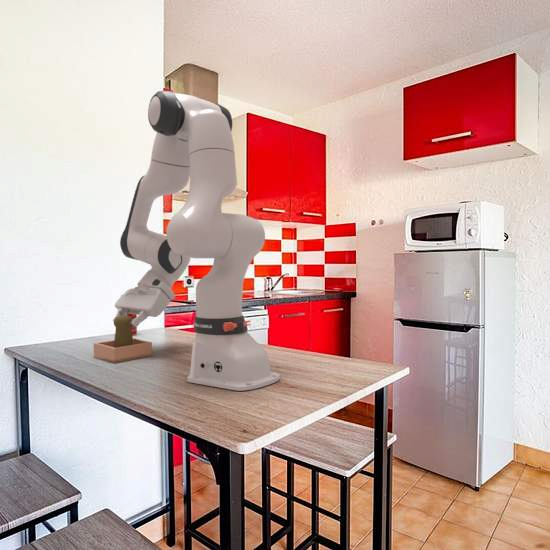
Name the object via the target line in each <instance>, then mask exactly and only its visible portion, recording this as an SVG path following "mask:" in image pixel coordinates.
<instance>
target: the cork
mask: <svg viewBox="0 0 550 550" xmlns="http://www.w3.org/2000/svg"><path fill="white" fill-rule="evenodd" d="M115 317H116V316H115ZM115 317H114V318H115ZM114 318H113V319H114ZM132 320H133V319H132V317H130V316H126V315H123V316H118V317H116V318H115V319H114V322H113V325H114V327H115V331H114V332H115V334H114V339H113V340H114V348H118V347H123V346H129V345H134V344H133V338H134V336H132V331H131V326H132V325H131V324H130V322H131V321H132Z"/></svg>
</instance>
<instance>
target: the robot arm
mask: <svg viewBox="0 0 550 550" xmlns="http://www.w3.org/2000/svg"><path fill="white" fill-rule="evenodd" d="M148 104H149V105H148V109H147V118H148V119H147V120H148V122H149V125H150V127H151V129H153V131H154V132H156V134H155V138H154V141H153V146H152V148H151V149H152V150H151V157H150V158H151V159H150V163H149V167H148V170H147V171H146V173H145V175H143V176H141V177H140V178H139V180H138V183H137V184H136V188H135V191H134V194H133V198H132V202H131V205H130V209H129V212H128V213H129V214H128V218H127V221H126V225H125V227H124V230H123V232H122V234H121V236H120V240H119V245H120V249H121V252H122V254H123V255H124V256H125V257H126V258H129V259H133V260H136V261H140V262H143V263H145V264H147V265H150V266H151V268H150V269H149V270H147V271H146V272H145V274H144V275H143V276H142V277H141V278H140V280H139V281H138V282H137V286H136V287H133V288H129V289H127V290H126V291H125V292H124V293H122V294H121V295H122V296H121V295H120V296H119V298H118V299H117V300H116V302H115V303H114V307H115V308H116V309H117V312H116V314H115V316H114V317H113V319H112V321H113V323H114V319H115V318H116V317H118V316H123V315H125V314H126V313H129V314H136V315H137V317H136V318H133V320H132V321H131V322H130V324H131V325H132V326H134V327H137V328H138V326H139V325H140V323H142V322H144V321H146V320H147V319H148V317H152V318H158V316H160V315H161V314H162V313H163V312H164V311H165V309H166V308H167V307H168V306H169V305H170V302H171V301H173V300H174V299H175V297H176V294H175V293H174V291H173V290H172V288H173V285H174V283H175V282H177V281H178V280H179V279H180V278H181V276H182V275H183V274H184V272H185V271H186V269H187V267H188V266H189V264H190V261H191V259H213V264H212V267H211V269H210V270H209V272H208V273H207V274H206V275H204V276H203V277H202V278H200V279H199V280H198V282H197V283H196V286H195V316H194V319H193V321H194V322H193V329H194V330H193V331H194V333H195V337H194V341H193V343H192V348H191V360H190V361H191V362H190V372H189V375H188V376H187V377H186V378H187V379H186V381H187V382H188V383H192V384H197V385H203V386H209V387H212V388H213V387H214V388H220V389H225V390H231V391H236V392H237V391H239V392H240V391H242V392H243V391H250V390H255V389H259V388H263V387H266V386H269V385H272V384H274V383H277V382H278V381H279V380H280V379H281V374H280V373H278V372H276V371H272V370H271V365H270V357H269V354H268V352H267V351H266V349H264V348H263V347H262V346H261V345H260V344H259V343H258V342H257V341H256V340H255V339H254V337H252V335H251V334H250V333H249V332H248V330H249V329H248V326H251V325H252V324H251V320H245V316H244V315H243V292H244V291H243V289H244V288H243V287H244V280H245V276H246V274H247V272H248V268H249V266H250V265H251V262H252V261H253V259H254V258H255V257H256V256H257V255H258V254H259V253H260V252H261V251H262V249H263V247H264V246H265V242H266V241H265V239H266V231H265V229H264V226H263V224H262V222H261V221H259V220H258V219H257V218H253V217H251V216H249V215H245V214H240V213H230V212H229V213H228V212H223V211H222V204H223V200H224V199H225V198H227V197H228V196H230V195H231V194H232V193H233V192H235V189H236V187H237V185H238V180H237V167H236V164H237V163H236V156H235V145H234V140H233V134H232V131H233V118H232V114H231V112H230V110H229V109H228V108H226V107H225V106H223V105H221V104H219V103H213V102H212V101H208V100H206V99H204V98H203V99H202V98H200V97H197V96H195V95H190V94H184V93H180V92H179V93H177V92H174V91H172V90H159V91H157V92H156V93H154V94H153V95H152V97H151V98H150V101H149V103H148ZM188 184H189V191H188V195H187V198H186V201H185V203H184V205H183V206H182V207H181V208H180V210H178V212H176V213H175V214H174V215H173V216H172V217H171V219H170V220H169V221H168V224H167V227H166V234H162V233H158V232H155V231H152V230H149V228H148V225H147V224H148V220H149V217H150V212H151V210H152V206H153V203H154V201H156V199H157V198H159V197H162V196H169V195H174V194H176V193H180V192H181V191H182V190H184V188H186V186H187V185H188Z"/></svg>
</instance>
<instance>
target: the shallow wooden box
mask: <svg viewBox="0 0 550 550" xmlns="http://www.w3.org/2000/svg"><path fill="white" fill-rule="evenodd" d="M114 340H115V339H113V340H108V341H107V340H106V341H101V342H94V343H93V358H94V359H98V360H102V361H106V362H108V363H112V364H119V363H123V362H124V363H125V362H127V361H128V362H129V361H132V360H138V359H140V360H141V359H144V358H149V357H153V344H152V343H153V342H152V341H147V340H143V339H138V338H134V337H133V344H134V345H129V346H123V347H118V348H114Z"/></svg>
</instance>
